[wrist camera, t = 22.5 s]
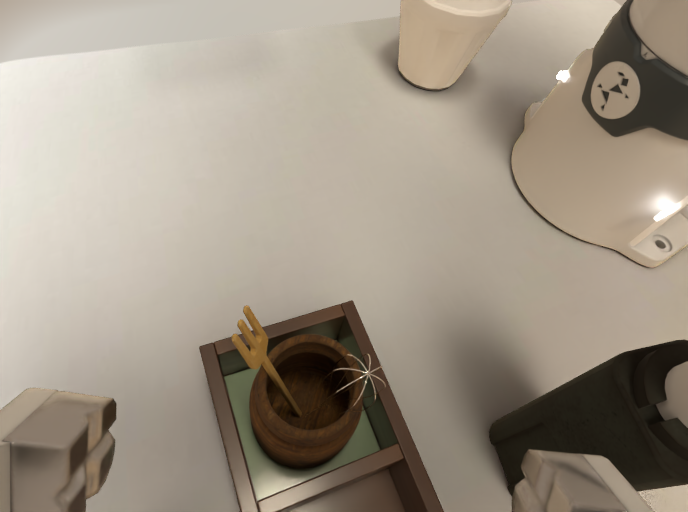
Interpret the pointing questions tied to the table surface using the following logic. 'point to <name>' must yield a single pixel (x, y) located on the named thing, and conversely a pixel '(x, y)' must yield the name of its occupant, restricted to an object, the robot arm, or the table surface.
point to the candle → (610, 418)
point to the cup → (444, 38)
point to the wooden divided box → (344, 468)
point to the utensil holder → (302, 395)
